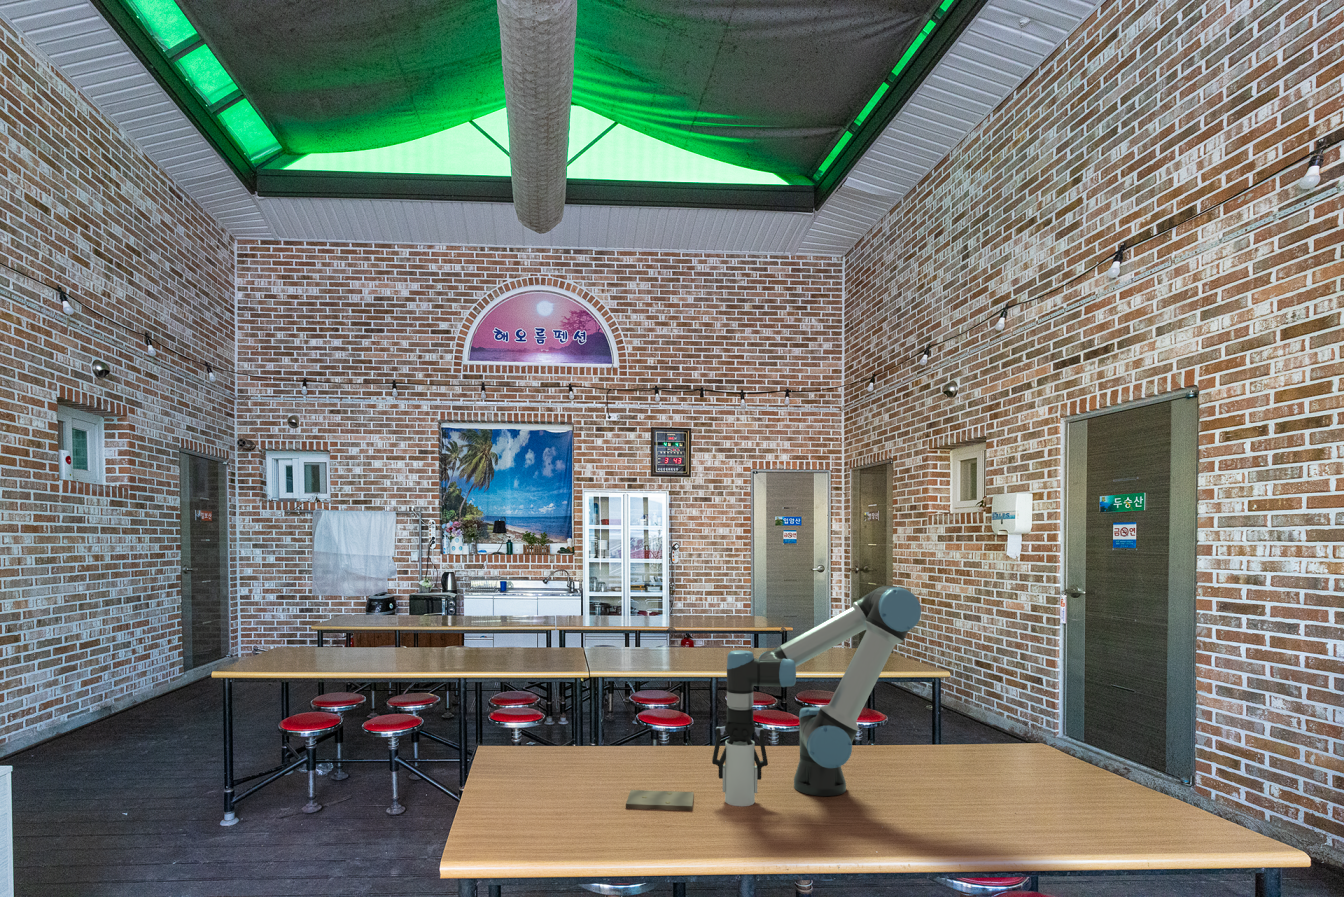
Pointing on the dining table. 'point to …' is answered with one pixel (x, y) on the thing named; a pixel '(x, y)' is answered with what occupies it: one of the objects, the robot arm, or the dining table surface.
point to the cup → (740, 774)
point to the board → (660, 800)
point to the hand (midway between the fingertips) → (739, 790)
